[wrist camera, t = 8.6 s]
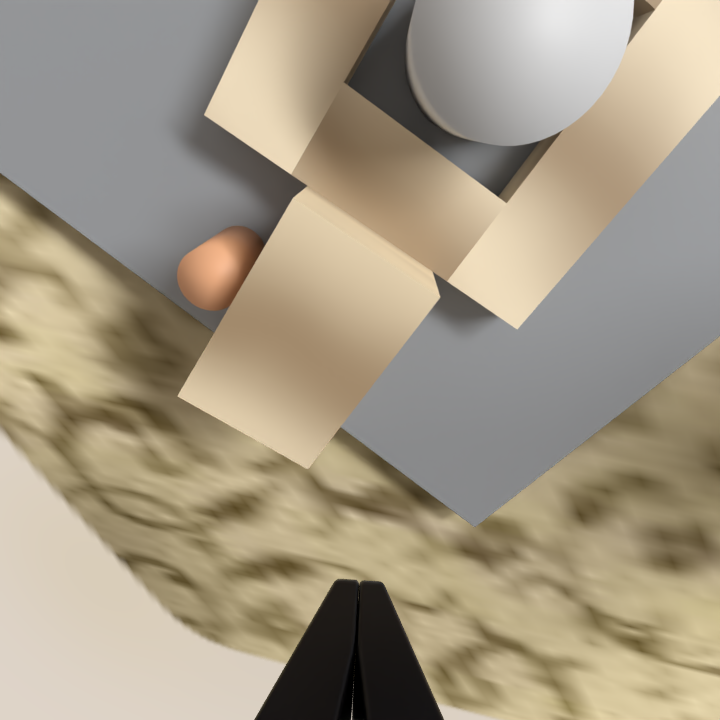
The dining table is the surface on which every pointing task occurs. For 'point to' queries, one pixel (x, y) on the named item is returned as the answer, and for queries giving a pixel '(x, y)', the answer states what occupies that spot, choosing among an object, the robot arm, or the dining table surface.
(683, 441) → the dining table surface
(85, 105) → the board
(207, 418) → the dining table surface
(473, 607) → the dining table surface
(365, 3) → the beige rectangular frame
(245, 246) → the orange rounded piece
